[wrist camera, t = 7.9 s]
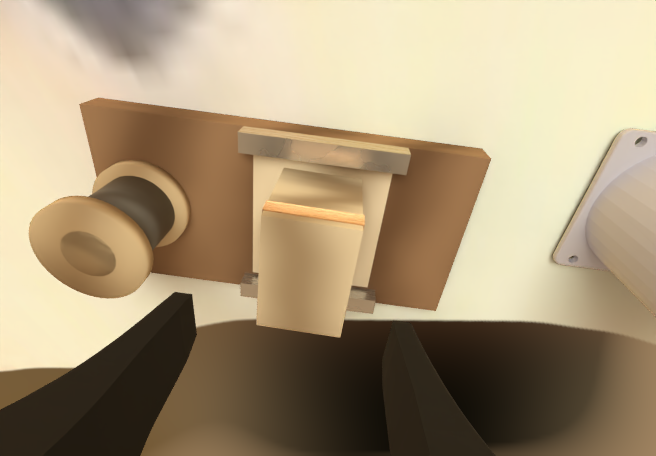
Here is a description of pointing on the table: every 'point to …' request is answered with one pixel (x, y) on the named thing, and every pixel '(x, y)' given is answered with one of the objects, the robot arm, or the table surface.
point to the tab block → (309, 251)
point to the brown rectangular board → (262, 175)
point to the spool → (111, 229)
